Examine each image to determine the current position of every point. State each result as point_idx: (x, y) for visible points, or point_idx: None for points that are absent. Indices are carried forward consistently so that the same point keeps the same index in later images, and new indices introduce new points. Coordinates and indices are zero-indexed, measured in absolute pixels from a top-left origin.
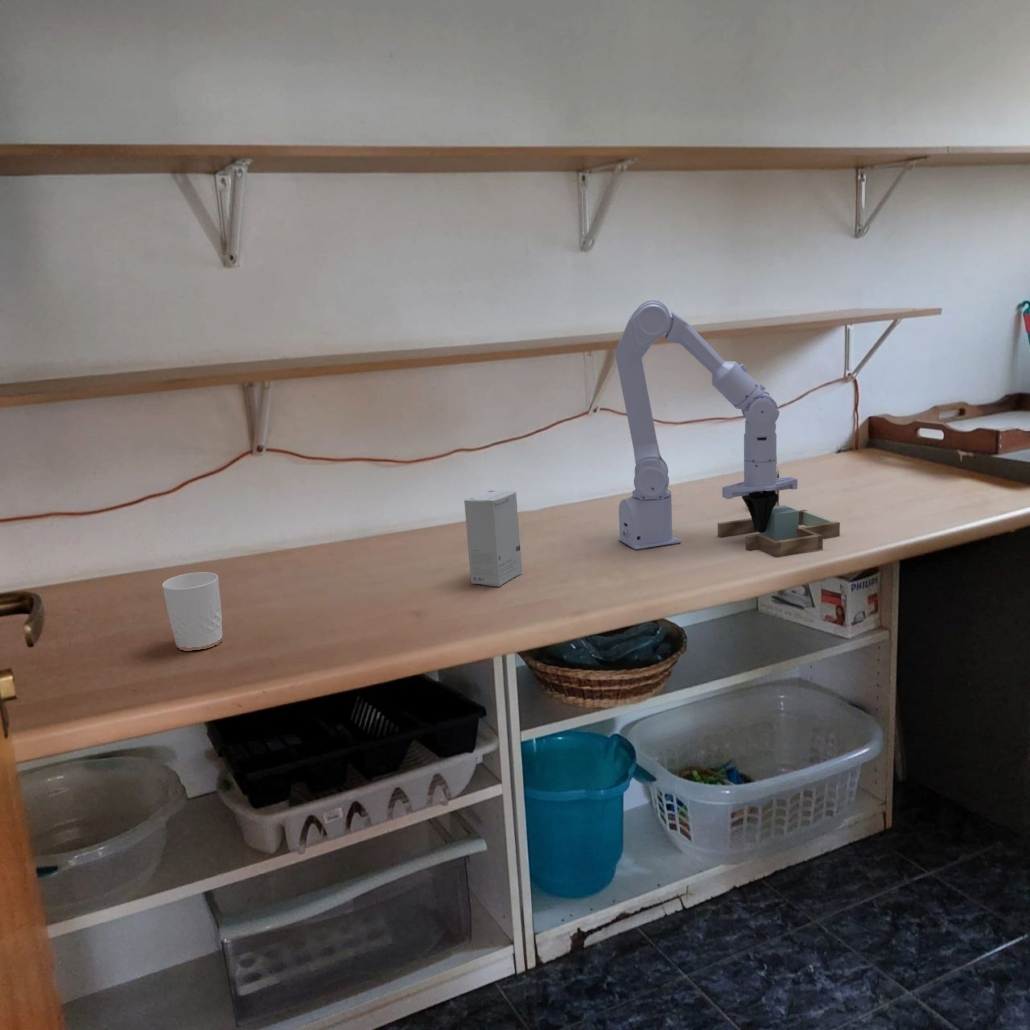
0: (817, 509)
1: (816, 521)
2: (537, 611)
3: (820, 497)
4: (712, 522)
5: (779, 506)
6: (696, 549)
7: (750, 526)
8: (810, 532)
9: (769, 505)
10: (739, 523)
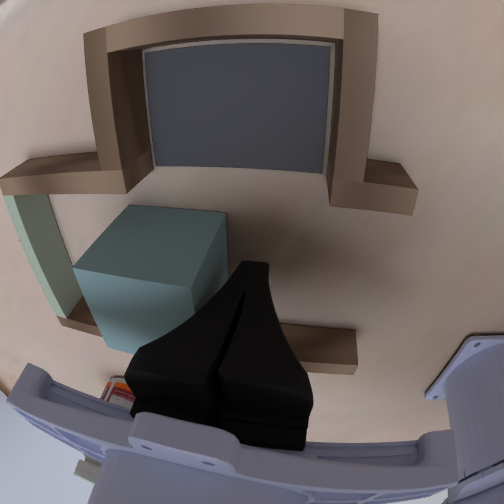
0: (48, 337)
1: (50, 257)
2: None
3: (43, 365)
4: None
5: (126, 348)
6: (492, 277)
7: None
8: (104, 97)
9: (204, 340)
10: None
